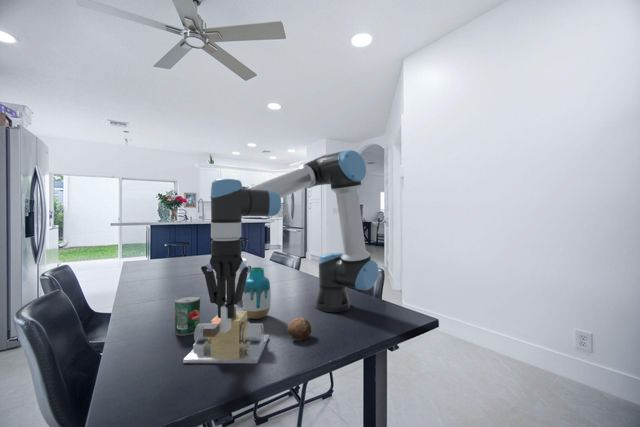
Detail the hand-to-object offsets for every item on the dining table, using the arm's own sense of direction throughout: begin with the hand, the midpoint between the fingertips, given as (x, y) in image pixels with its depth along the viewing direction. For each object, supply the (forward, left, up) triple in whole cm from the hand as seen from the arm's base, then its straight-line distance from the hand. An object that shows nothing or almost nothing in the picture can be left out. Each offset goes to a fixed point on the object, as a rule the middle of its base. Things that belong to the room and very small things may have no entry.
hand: (226, 330), depth 70 cm
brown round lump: (-17, -18, -10) cm, 27 cm away
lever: (+2, -4, 0) cm, 5 cm away
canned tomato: (+22, -23, -10) cm, 33 cm away
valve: (+2, -10, -10) cm, 15 cm away
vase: (0, -35, -10) cm, 37 cm away
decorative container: (+17, -62, -10) cm, 66 cm away
